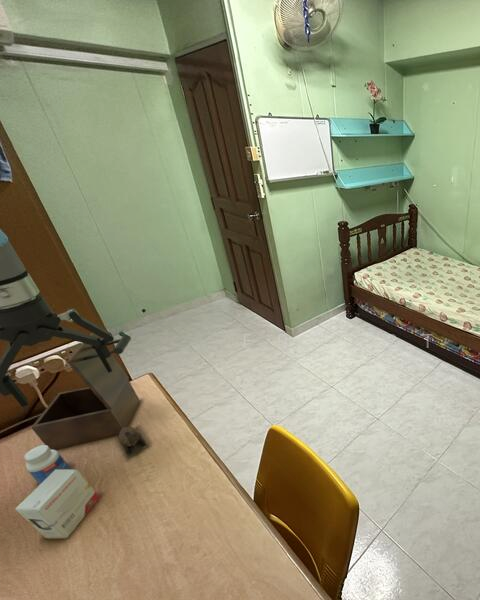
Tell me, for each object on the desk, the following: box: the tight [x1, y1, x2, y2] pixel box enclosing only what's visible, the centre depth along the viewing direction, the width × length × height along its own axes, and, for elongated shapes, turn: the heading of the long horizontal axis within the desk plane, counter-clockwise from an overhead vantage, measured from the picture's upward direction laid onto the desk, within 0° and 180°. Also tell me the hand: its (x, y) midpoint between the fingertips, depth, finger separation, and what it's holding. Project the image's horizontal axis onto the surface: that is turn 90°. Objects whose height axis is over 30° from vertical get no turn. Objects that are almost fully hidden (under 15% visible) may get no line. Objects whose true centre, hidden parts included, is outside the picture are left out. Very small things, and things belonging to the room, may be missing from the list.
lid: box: [66, 332, 132, 410], centre depth 85 cm, size 17×13×9 cm
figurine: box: [117, 426, 150, 459], centre depth 83 cm, size 14×4×9 cm, turn 52°
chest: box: [30, 379, 141, 451], centre depth 89 cm, size 17×13×10 cm
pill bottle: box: [23, 444, 71, 485], centre depth 75 cm, size 6×5×10 cm
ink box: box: [15, 468, 100, 539], centre depth 67 cm, size 9×5×12 cm, turn 0°
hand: (69, 385), depth 68 cm, fingers open, 13 cm apart
